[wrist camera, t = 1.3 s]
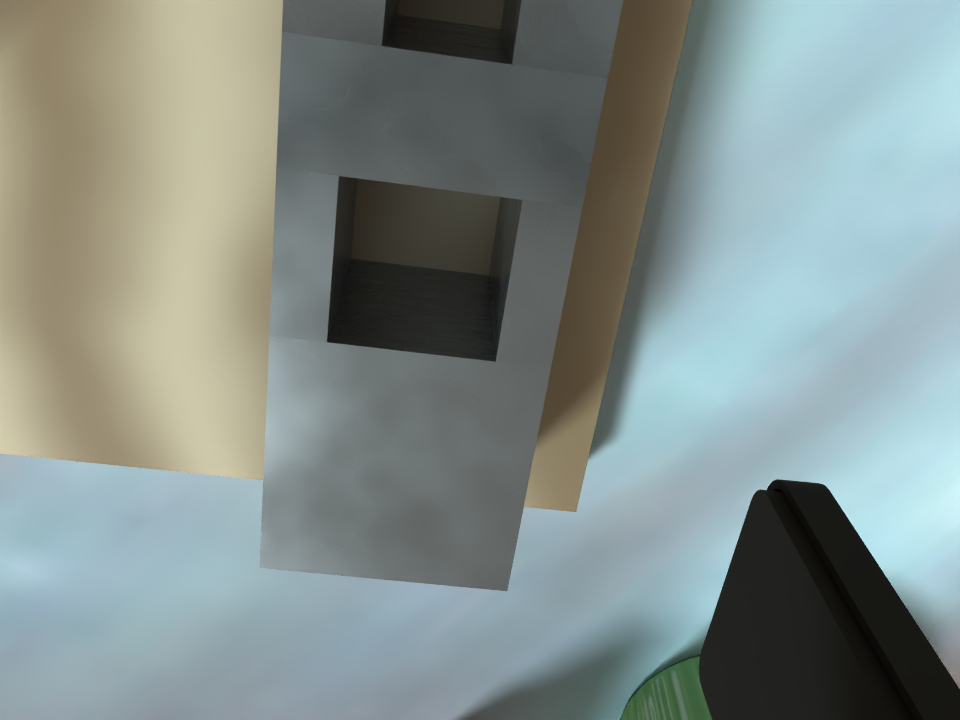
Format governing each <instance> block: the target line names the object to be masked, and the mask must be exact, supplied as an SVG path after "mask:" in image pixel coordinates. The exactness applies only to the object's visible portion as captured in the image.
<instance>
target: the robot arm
mask: <svg viewBox="0 0 960 720" xmlns="http://www.w3.org/2000/svg"><path fill="white" fill-rule="evenodd" d="M699 678H700V684H701V688H702V691H703V694H704V697H705V700H706V703H707V706H708V709H709V712H710V715H711V718H712V720H960V689H959V688H958V686H957V684H956V683H955V681H954V680H953V678H952V677H951V675H950V674H949V672H948V671H947V669H946V668H945V666H944V665H943V663H942V662H941V660H940V659H939V657H938V655H937V654H936V652H935V651H934V649H933V648H932V646H931V645H930V643H929V642H928V640H927V639H926V637H925V636H924V634H923V633H922V631H921V629H920V628H919V626H918V625H917V623H916V622H915V620H914V619H913V617H912V616H911V614H910V613H909V611H908V610H907V608H906V607H905V605H904V604H903V602H902V600H901V599H900V597H899V596H898V594H897V593H896V591H895V590H894V588H893V587H892V585H891V584H890V582H889V581H888V579H887V578H886V576H885V574H884V573H883V571H882V570H881V568H880V567H879V565H878V564H877V562H876V561H875V559H874V558H873V556H872V555H871V553H870V552H869V550H868V549H867V547H866V545H865V544H864V542H863V541H862V539H861V538H860V536H859V535H858V533H857V532H856V530H855V529H854V527H853V526H852V524H851V523H850V521H849V519H848V518H847V516H846V515H845V513H844V512H843V510H842V509H841V507H840V506H839V504H838V503H837V501H836V500H835V498H834V497H833V495H832V494H831V492H830V490H829V489H828V488H827V487H826V486H825V485H823V484H819V483H809V482H799V481H789V480H778V479H777V480H775V481H773V482H772V483H771V484H770V485H769V486H768V488H767V490H758V491H757V492H756V493H755V494H754V495H753V498H752V500H751V503H750V506H749V509H748V512H747V515H746V518H745V521H744V524H743V527H742V530H741V533H740V536H739V539H738V542H737V545H736V548H735V551H734V554H733V557H732V560H731V563H730V566H729V569H728V572H727V575H726V578H725V581H724V584H723V587H722V590H721V593H720V596H719V599H718V602H717V606H716V609H715V612H714V615H713V618H712V621H711V624H710V627H709V630H708V633H707V636H706V639H705V642H704V645H703V648H702V651H701V655H700V660H699Z"/></svg>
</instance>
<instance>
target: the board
mask: <svg viewBox="0 0 960 720" xmlns="http://www.w3.org/2000/svg"><path fill="white" fill-rule="evenodd" d="M504 1H505V0H399V3H398V15H405V16H412V17H419V18H426V19H432V20H439V21H446V22H453V23H460V24H467V25H474V26H481V27H488V28H494V29H501V22H502V15H503V8H504ZM692 1H693V0H623V3H622V9H621V14H620V19H619V24H618V29H617V34H616V39H615V44H614V49H613V54H612V59H611V65H610V70H609V75H608V80H607V85H606V90H605V95H604V100H603V105H602V110H601V115H600V121H599V126H598V131H597V136H596V141H595V146H594V151H593V156H592V161H591V166H590V172H589V177H588V182H587V187H586V192H585V197H584V202H583V207H582V212H581V217H580V222H579V228H578V233H577V238H576V243H575V248H574V253H573V258H572V263H571V268H570V273H569V278H568V284H567V289H566V294H565V299H564V304H563V309H562V314H561V319H560V324H559V329H558V334H557V340H556V345H555V350H554V355H553V360H552V365H551V370H550V375H549V380H548V385H547V390H546V396H545V401H544V406H543V411H542V416H541V421H540V426H539V431H538V436H537V441H536V446H535V452H534V457H533V462H532V467H531V472H530V477H529V482H528V487H527V492H526V497H525V502H524V507H532V508H541V509H551V510H561V511H571V512H576V510H577V505H578V501H579V497H580V492H581V488H582V484H583V479H584V475H585V470H586V466H587V462H588V457H589V453H590V448H591V444H592V440H593V435H594V431H595V427H596V422H597V418H598V413H599V409H600V405H601V400H602V396H603V392H604V387H605V383H606V378H607V374H608V370H609V365H610V361H611V356H612V352H613V348H614V343H615V339H616V335H617V330H618V326H619V321H620V317H621V313H622V308H623V304H624V299H625V295H626V291H627V286H628V282H629V278H630V273H631V269H632V264H633V260H634V256H635V251H636V247H637V243H638V238H639V234H640V229H641V225H642V221H643V216H644V212H645V207H646V203H647V199H648V194H649V190H650V186H651V181H652V177H653V172H654V168H655V164H656V159H657V155H658V150H659V146H660V142H661V137H662V133H663V129H664V124H665V120H666V115H667V111H668V107H669V102H670V98H671V94H672V89H673V85H674V80H675V76H676V72H677V67H678V63H679V58H680V54H681V50H682V45H683V41H684V37H685V32H686V28H687V23H688V19H689V15H690V10H691V6H692ZM282 15H283V0H0V453H2V454H11V455H21V456H31V457H41V458H51V459H60V460H70V461H80V462H90V463H100V464H110V465H119V466H129V467H139V468H149V469H159V470H168V471H178V472H188V473H198V474H208V475H218V476H227V477H237V478H247V479H257V480H263V478H264V453H265V429H266V405H267V380H268V356H269V332H270V307H271V283H272V259H273V234H274V210H275V186H276V161H277V137H278V112H279V88H280V64H281V39H282ZM500 198H501V197H498V196H490V195H482V194H474V193H467V192H459V191H451V190H444V189H436V188H428V187H421V186H413V185H405V184H398V183H390V182H382V181H374V180H367V179H359V178H358V181H357V193H356V205H355V217H354V230H353V242H352V254H351V259H358V260H366V261H374V262H383V263H391V264H399V265H407V266H415V267H423V268H432V269H440V270H448V271H456V272H464V273H472V274H480V275H489V269H490V262H491V256H492V249H493V243H494V236H495V230H496V223H497V217H498V211H499V204H500Z"/></svg>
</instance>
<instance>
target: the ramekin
mask: <svg viewBox="0 0 960 720" xmlns="http://www.w3.org/2000/svg"><path fill="white" fill-rule="evenodd" d="M699 660H700V656H697V657H693V658H690V659H687V660H685V661H682V662H680V663H677V664H675V665H673V666H671V667H669V668H667V669H665V670H663V671H662V672H660V673H659V674H657V675H656V676H654V677H652V678H651V679H650V680H648V681H647V682H646V683H645V684H644V685H643V686H642V687H641V688H640V689H639V690H638V691H637V692H636V693H635V694H634V696H633V697H632V698H631V700H630V701H629V702H628V704H627V705H626V707H625V709H624V711H623V714H622V716H621V718H620V720H712V718H711V715H710V712H709V709H708V706H707V703H706V700H705V697H704V694H703V691H702V688H701V684H700V678H699Z"/></svg>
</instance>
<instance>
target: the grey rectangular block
mask: <svg viewBox="0 0 960 720" xmlns="http://www.w3.org/2000/svg"><path fill="white" fill-rule="evenodd" d="M398 3H399V0H283V15H282V39H281V64H280V88H279V112H278V137H277V161H276V186H275V210H274V234H273V259H272V283H271V307H270V332H269V356H268V380H267V405H266V429H265V453H264V478H263V502H262V526H261V551H260V568H267V569H278V570H288V571H299V572H310V573H320V574H331V575H342V576H352V577H363V578H373V579H384V580H395V581H405V582H416V583H427V584H437V585H448V586H459V587H469V588H480V589H490V590H501V591H507V589H508V584H509V579H510V574H511V569H512V564H513V559H514V553H515V548H516V543H517V538H518V533H519V528H520V523H521V518H522V513H523V508H524V502H525V497H526V492H527V487H528V482H529V477H530V472H531V467H532V462H533V457H534V452H535V446H536V441H537V436H538V431H539V426H540V421H541V416H542V411H543V406H544V401H545V396H546V390H547V385H548V380H549V375H550V370H551V365H552V360H553V355H554V350H555V345H556V340H557V334H558V329H559V324H560V319H561V314H562V309H563V304H564V299H565V294H566V289H567V284H568V278H569V273H570V268H571V263H572V258H573V253H574V248H575V243H576V238H577V233H578V228H579V222H580V217H581V212H582V207H583V202H584V197H585V192H586V187H587V182H588V177H589V172H590V166H591V161H592V156H593V151H594V146H595V141H596V136H597V131H598V126H599V121H600V115H601V110H602V105H603V100H604V95H605V90H606V85H607V80H608V75H609V70H610V65H611V59H612V54H613V49H614V44H615V39H616V34H617V29H618V24H619V19H620V14H621V9H622V3H623V0H505V1H504V8H503V15H502V22H501V29H494V28H488V27H481V26H474V25H467V24H460V23H453V22H446V21H439V20H432V19H426V18H419V17H412V16H405V15H398ZM358 178H359V179H367V180H374V181H382V182H390V183H398V184H405V185H413V186H421V187H428V188H436V189H444V190H451V191H459V192H467V193H474V194H482V195H490V196H498V197H501V198H500V204H499V211H498V217H497V223H496V230H495V236H494V243H493V249H492V256H491V262H490V269H489V275H480V274H472V273H464V272H456V271H448V270H440V269H432V268H423V267H415V266H407V265H399V264H391V263H383V262H374V261H366V260H358V259H351V254H352V242H353V230H354V217H355V205H356V193H357V181H358Z"/></svg>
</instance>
